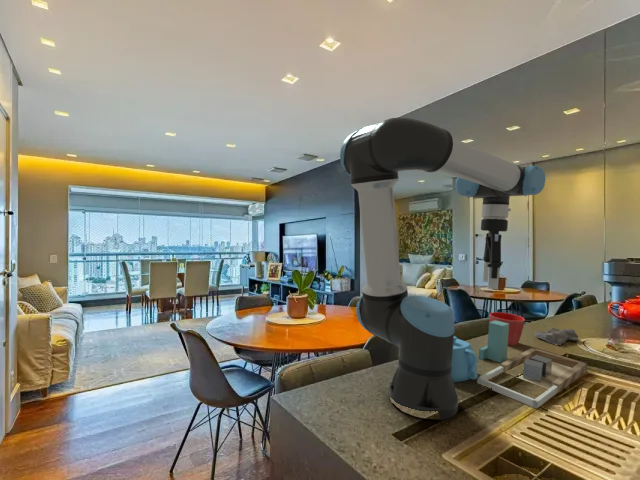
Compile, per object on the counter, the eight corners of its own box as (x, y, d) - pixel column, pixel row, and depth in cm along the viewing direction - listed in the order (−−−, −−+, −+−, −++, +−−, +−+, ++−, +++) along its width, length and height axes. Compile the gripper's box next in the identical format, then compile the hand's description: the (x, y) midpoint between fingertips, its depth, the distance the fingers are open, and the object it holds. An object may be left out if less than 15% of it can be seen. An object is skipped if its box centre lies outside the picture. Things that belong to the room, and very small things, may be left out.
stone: (558, 347, 117) (559, 336, 116) (531, 338, 125) (532, 327, 125) (583, 342, 123) (584, 331, 122) (556, 334, 131) (557, 323, 131)
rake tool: (478, 361, 102) (481, 322, 101) (492, 355, 107) (495, 318, 107) (496, 368, 98) (498, 327, 97) (510, 360, 103) (512, 322, 103)
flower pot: (502, 336, 125) (504, 310, 125) (530, 347, 115) (532, 319, 115) (480, 339, 122) (482, 312, 121) (507, 350, 112) (509, 321, 111)
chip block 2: (545, 377, 91) (546, 363, 90) (529, 371, 94) (530, 357, 93) (551, 373, 93) (552, 359, 93) (534, 368, 96) (536, 354, 96)
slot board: (558, 396, 83) (559, 384, 82) (499, 374, 94) (499, 363, 94) (586, 373, 96) (587, 363, 96) (532, 356, 107) (532, 347, 107)
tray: (536, 412, 75) (537, 401, 75) (476, 387, 86) (477, 377, 86) (557, 396, 83) (557, 386, 83) (499, 374, 94) (500, 365, 93)
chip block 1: (540, 382, 87) (542, 367, 87) (522, 377, 90) (524, 363, 90) (542, 377, 91) (543, 362, 90) (524, 372, 93) (525, 358, 93)
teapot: (436, 323, 104) (493, 341, 89) (434, 357, 104) (490, 381, 89) (407, 329, 97) (463, 350, 82) (405, 365, 98) (460, 393, 82)
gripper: (516, 218, 94) (510, 293, 95) (501, 219, 117) (496, 280, 119) (486, 217, 97) (480, 290, 98) (477, 218, 120) (473, 278, 121)
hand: (489, 285), depth 108 cm, fingers open, 13 cm apart
